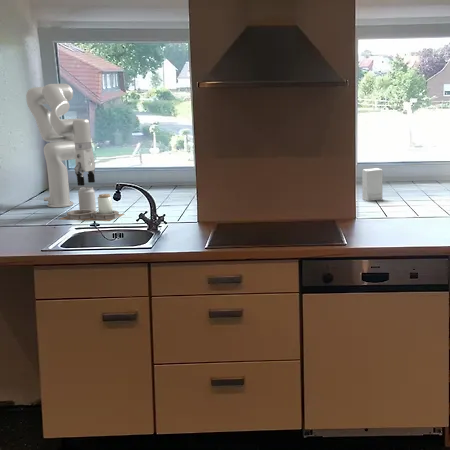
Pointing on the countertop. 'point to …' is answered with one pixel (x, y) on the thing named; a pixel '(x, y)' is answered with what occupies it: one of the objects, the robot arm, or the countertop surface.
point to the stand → (90, 215)
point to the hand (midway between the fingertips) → (86, 183)
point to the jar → (105, 204)
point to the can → (87, 198)
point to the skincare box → (372, 184)
